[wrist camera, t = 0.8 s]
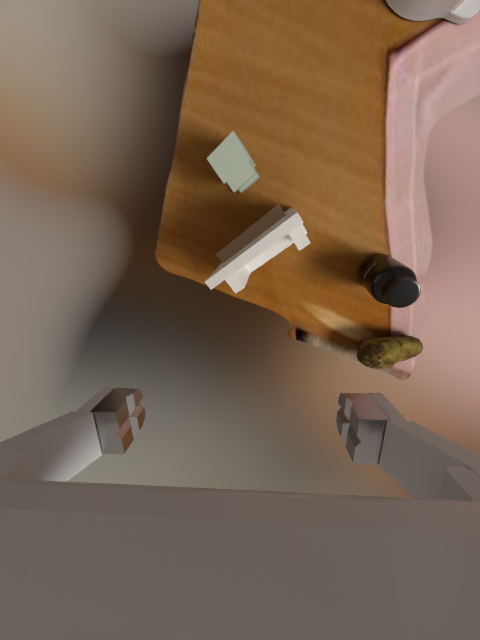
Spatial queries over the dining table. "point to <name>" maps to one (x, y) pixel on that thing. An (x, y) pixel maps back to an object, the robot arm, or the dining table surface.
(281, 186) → the dining table surface
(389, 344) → the potato
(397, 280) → the supplement bottle
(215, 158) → the pale green box
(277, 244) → the wall board
